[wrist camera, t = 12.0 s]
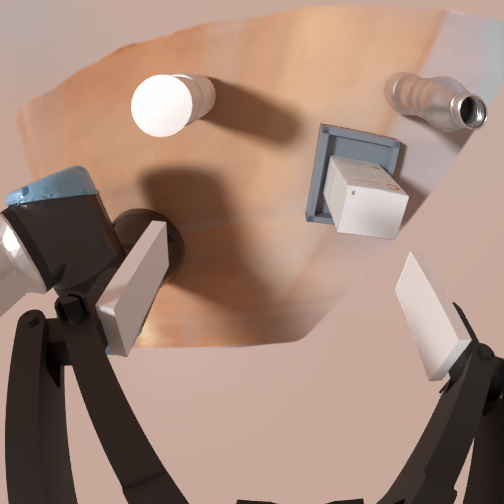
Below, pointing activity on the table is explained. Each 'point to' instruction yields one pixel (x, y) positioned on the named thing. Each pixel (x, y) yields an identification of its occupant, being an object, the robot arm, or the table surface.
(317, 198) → the tray
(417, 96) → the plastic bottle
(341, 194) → the small box
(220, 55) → the table surface
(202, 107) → the white bottle
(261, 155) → the table surface
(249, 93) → the table surface
